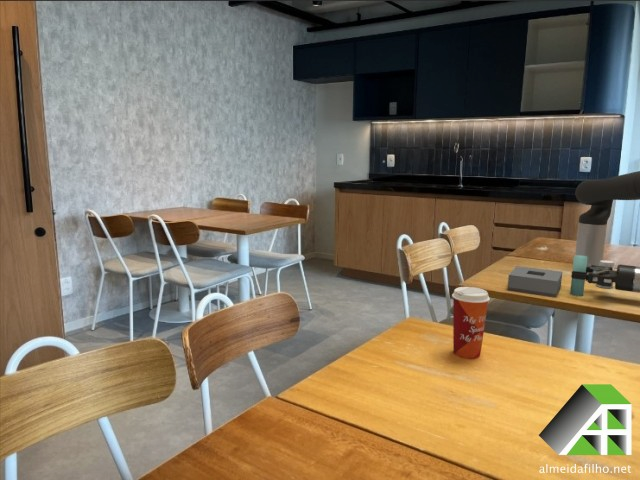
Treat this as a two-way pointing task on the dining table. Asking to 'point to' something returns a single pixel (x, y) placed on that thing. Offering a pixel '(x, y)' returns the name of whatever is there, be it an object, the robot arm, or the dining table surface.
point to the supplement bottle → (606, 264)
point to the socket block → (535, 281)
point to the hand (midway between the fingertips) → (572, 271)
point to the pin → (578, 284)
